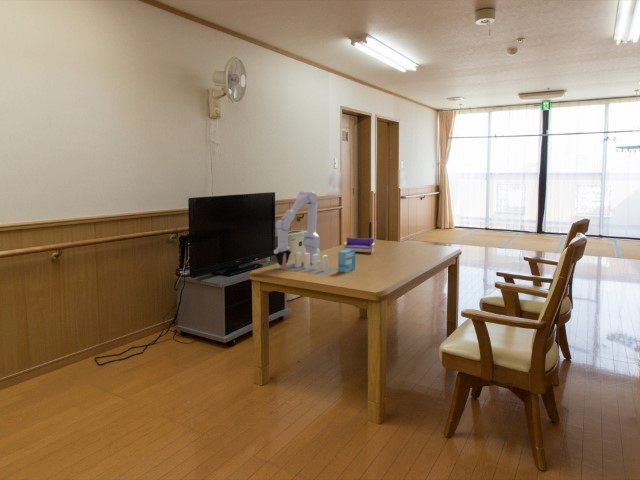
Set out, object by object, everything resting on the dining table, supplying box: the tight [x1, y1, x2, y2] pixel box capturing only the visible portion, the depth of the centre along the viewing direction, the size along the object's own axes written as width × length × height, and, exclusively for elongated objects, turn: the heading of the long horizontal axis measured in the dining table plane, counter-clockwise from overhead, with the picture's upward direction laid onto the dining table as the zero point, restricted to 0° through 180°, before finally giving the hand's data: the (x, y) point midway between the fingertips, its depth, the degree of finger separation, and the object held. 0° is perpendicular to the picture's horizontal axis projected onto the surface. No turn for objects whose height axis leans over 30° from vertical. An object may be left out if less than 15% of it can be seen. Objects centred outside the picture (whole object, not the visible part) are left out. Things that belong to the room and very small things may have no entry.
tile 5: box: [320, 254, 329, 271], centre depth 259 cm, size 4×2×8 cm, turn 149°
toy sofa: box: [342, 236, 376, 255], centre depth 318 cm, size 21×9×10 cm, turn 73°
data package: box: [337, 249, 356, 274], centre depth 258 cm, size 12×4×12 cm, turn 147°
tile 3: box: [303, 252, 311, 269], centre depth 265 cm, size 4×2×8 cm, turn 149°
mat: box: [272, 262, 338, 276], centre depth 265 cm, size 17×34×1 cm, turn 59°
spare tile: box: [279, 253, 287, 268], centre depth 266 cm, size 4×2×8 cm, turn 149°
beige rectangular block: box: [294, 251, 303, 267], centre depth 268 cm, size 4×2×8 cm, turn 149°
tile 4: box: [312, 254, 320, 270], centre depth 262 cm, size 4×2×8 cm, turn 149°
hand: (283, 263), depth 266 cm, fingers closed on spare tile, 4 cm apart
